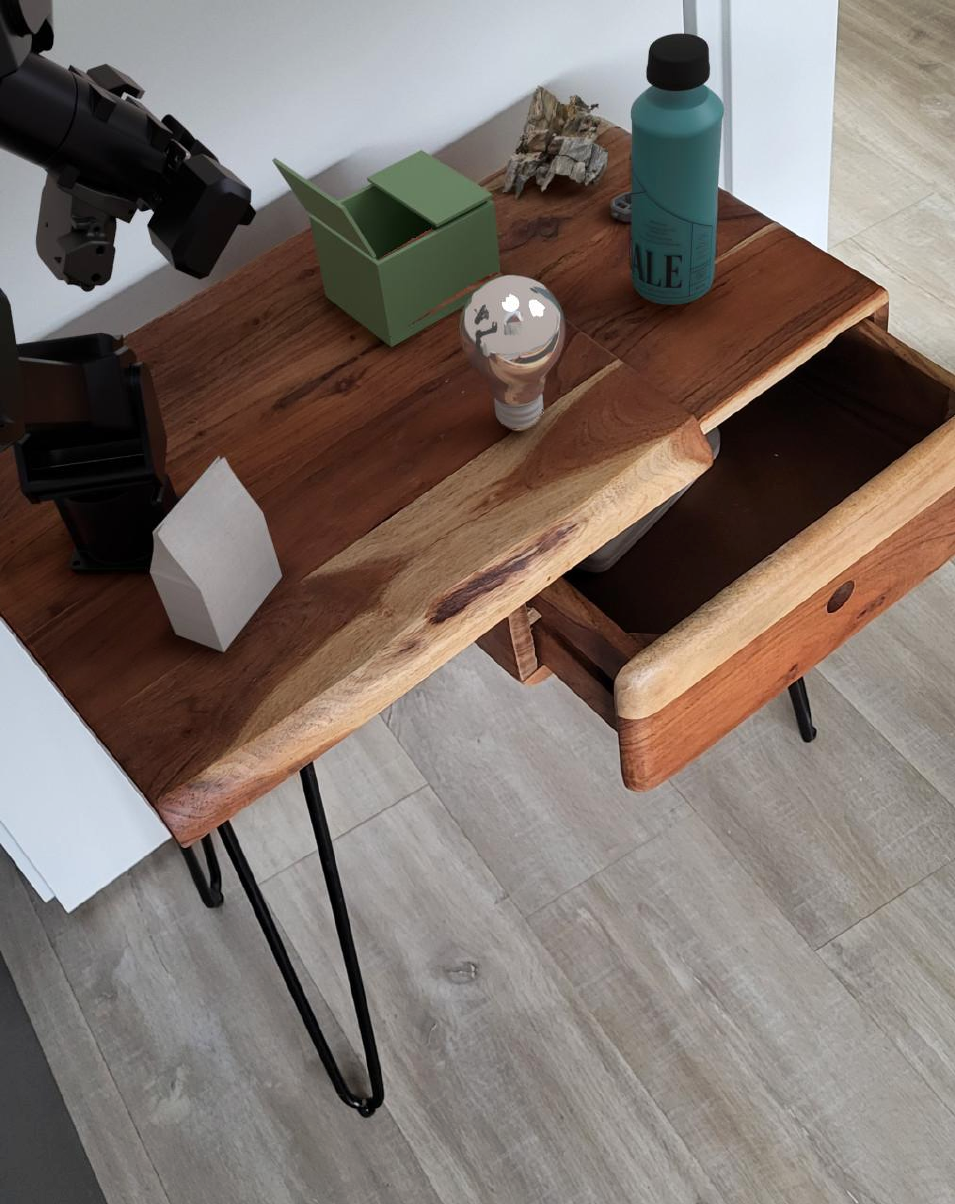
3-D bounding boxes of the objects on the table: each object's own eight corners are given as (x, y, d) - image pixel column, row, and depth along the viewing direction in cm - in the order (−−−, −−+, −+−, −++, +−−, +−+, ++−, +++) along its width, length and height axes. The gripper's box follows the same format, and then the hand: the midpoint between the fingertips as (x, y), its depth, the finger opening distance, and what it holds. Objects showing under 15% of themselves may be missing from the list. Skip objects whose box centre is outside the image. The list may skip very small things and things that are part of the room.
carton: (391, 347, 99) (375, 257, 93) (325, 296, 104) (306, 207, 98) (501, 284, 103) (493, 193, 97) (433, 238, 108) (421, 149, 102)
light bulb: (456, 450, 91) (437, 310, 82) (491, 386, 96) (476, 245, 86) (552, 469, 89) (543, 326, 80) (583, 402, 94) (577, 260, 84)
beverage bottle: (714, 270, 102) (729, 16, 87) (715, 324, 98) (731, 68, 83) (629, 271, 103) (629, 20, 88) (627, 325, 99) (626, 71, 83)
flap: (376, 256, 93) (373, 259, 93) (308, 207, 98) (305, 210, 98) (344, 206, 89) (341, 209, 89) (274, 157, 94) (271, 160, 94)
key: (598, 215, 108) (628, 229, 106) (598, 203, 107) (627, 217, 105) (699, 156, 113) (728, 168, 111) (699, 145, 112) (729, 157, 110)
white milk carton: (282, 576, 85) (248, 464, 78) (224, 652, 82) (182, 542, 74) (235, 560, 87) (197, 448, 79) (175, 634, 83) (130, 524, 75)
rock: (634, 109, 117) (630, 68, 114) (597, 203, 108) (592, 160, 105) (542, 112, 120) (536, 72, 117) (499, 204, 110) (491, 163, 108)
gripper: (-64, 170, 84) (136, 256, 96) (44, 310, 74) (254, 387, 86) (14, 11, 81) (211, 121, 93) (140, 134, 71) (344, 239, 83)
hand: (250, 217), depth 89 cm, fingers closed
